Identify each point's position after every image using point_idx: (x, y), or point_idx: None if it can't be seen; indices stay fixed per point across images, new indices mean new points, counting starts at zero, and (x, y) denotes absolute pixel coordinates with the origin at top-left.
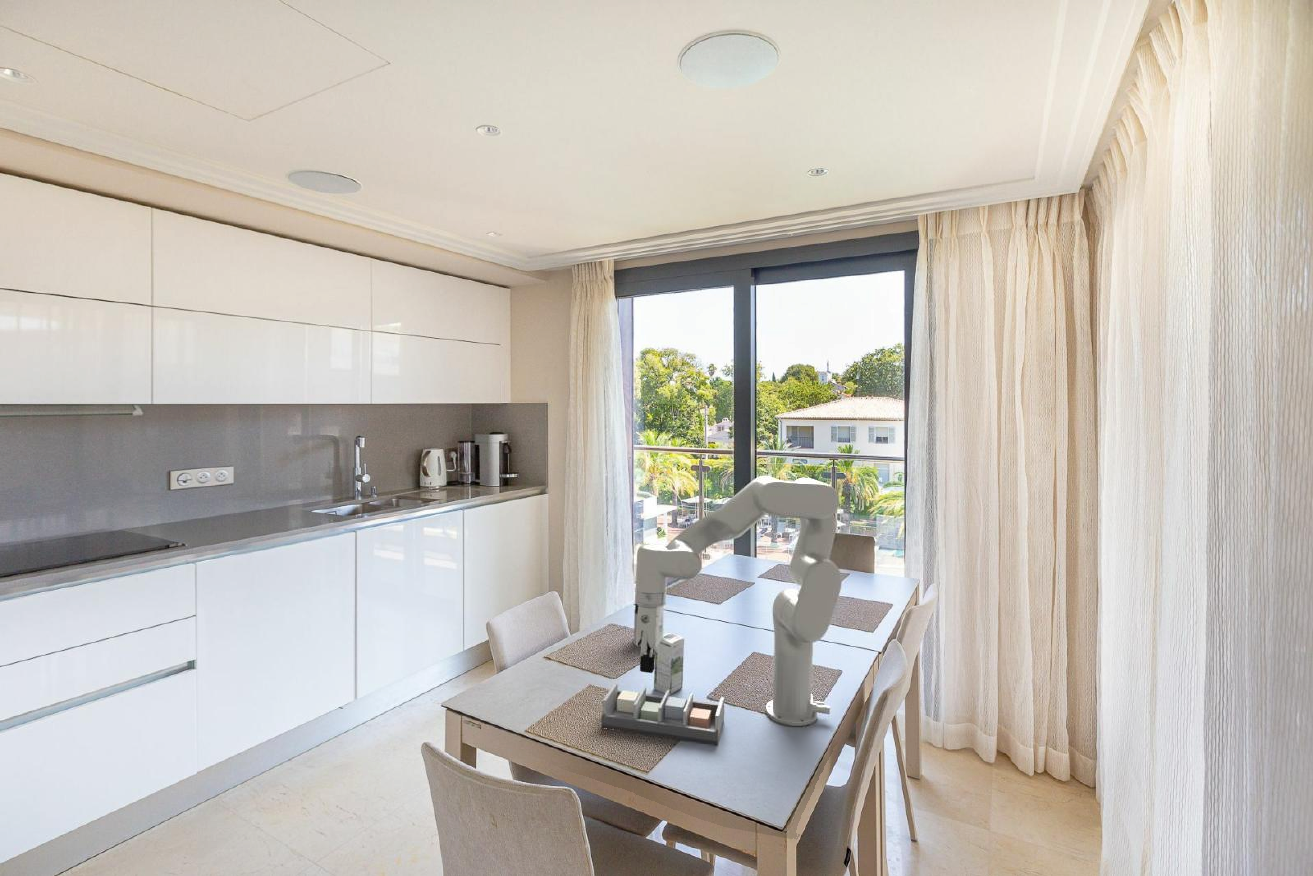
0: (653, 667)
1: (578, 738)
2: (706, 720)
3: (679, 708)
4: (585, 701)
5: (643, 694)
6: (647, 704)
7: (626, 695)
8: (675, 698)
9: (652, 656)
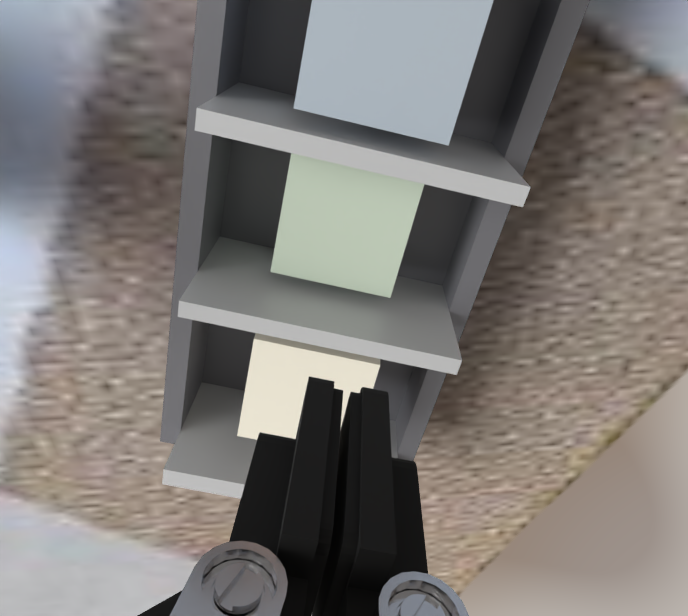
0: (329, 407)
1: (484, 493)
2: None
3: (489, 6)
4: (163, 494)
5: (261, 307)
6: (312, 257)
7: None
8: (324, 45)
9: (377, 568)
